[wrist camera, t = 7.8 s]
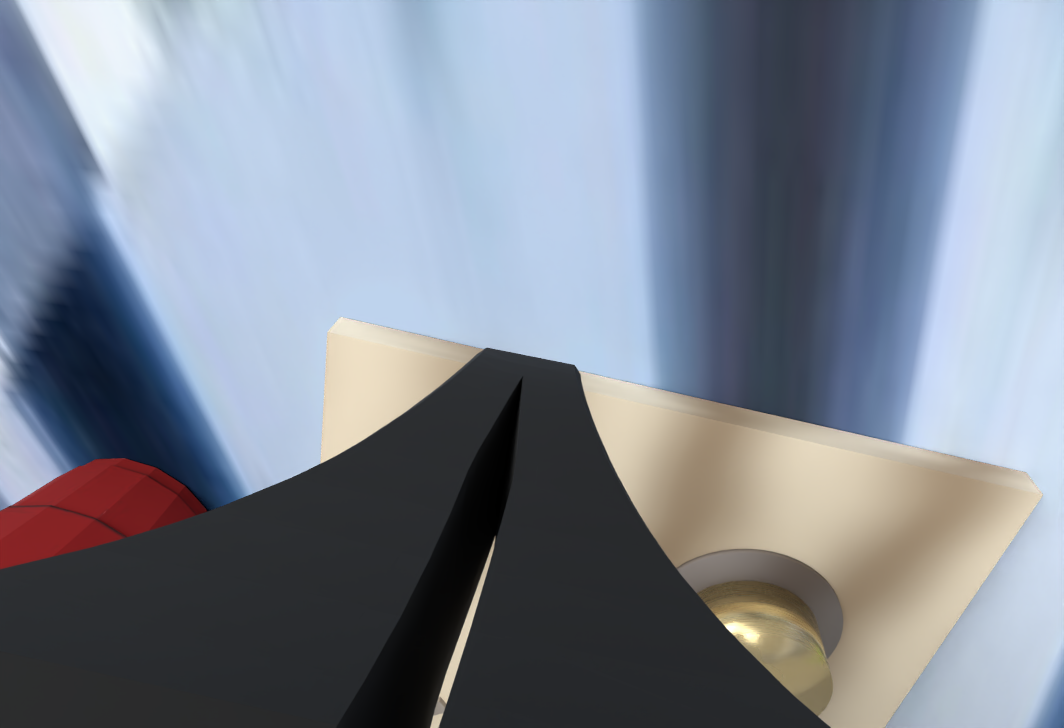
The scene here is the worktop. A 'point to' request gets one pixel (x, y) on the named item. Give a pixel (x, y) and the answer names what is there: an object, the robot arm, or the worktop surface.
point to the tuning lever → (776, 635)
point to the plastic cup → (92, 510)
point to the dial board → (752, 508)
